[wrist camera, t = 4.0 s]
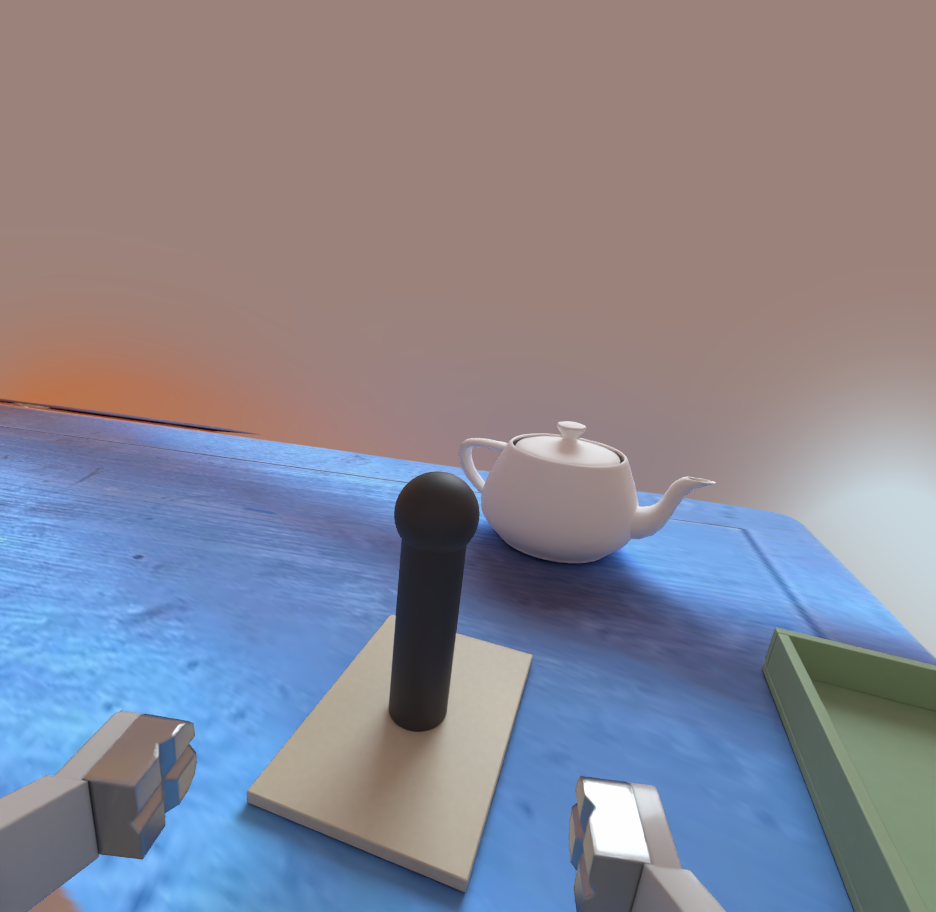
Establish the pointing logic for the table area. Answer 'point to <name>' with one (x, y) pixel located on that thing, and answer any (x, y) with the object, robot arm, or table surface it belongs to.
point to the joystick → (409, 712)
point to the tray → (864, 762)
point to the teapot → (566, 495)
